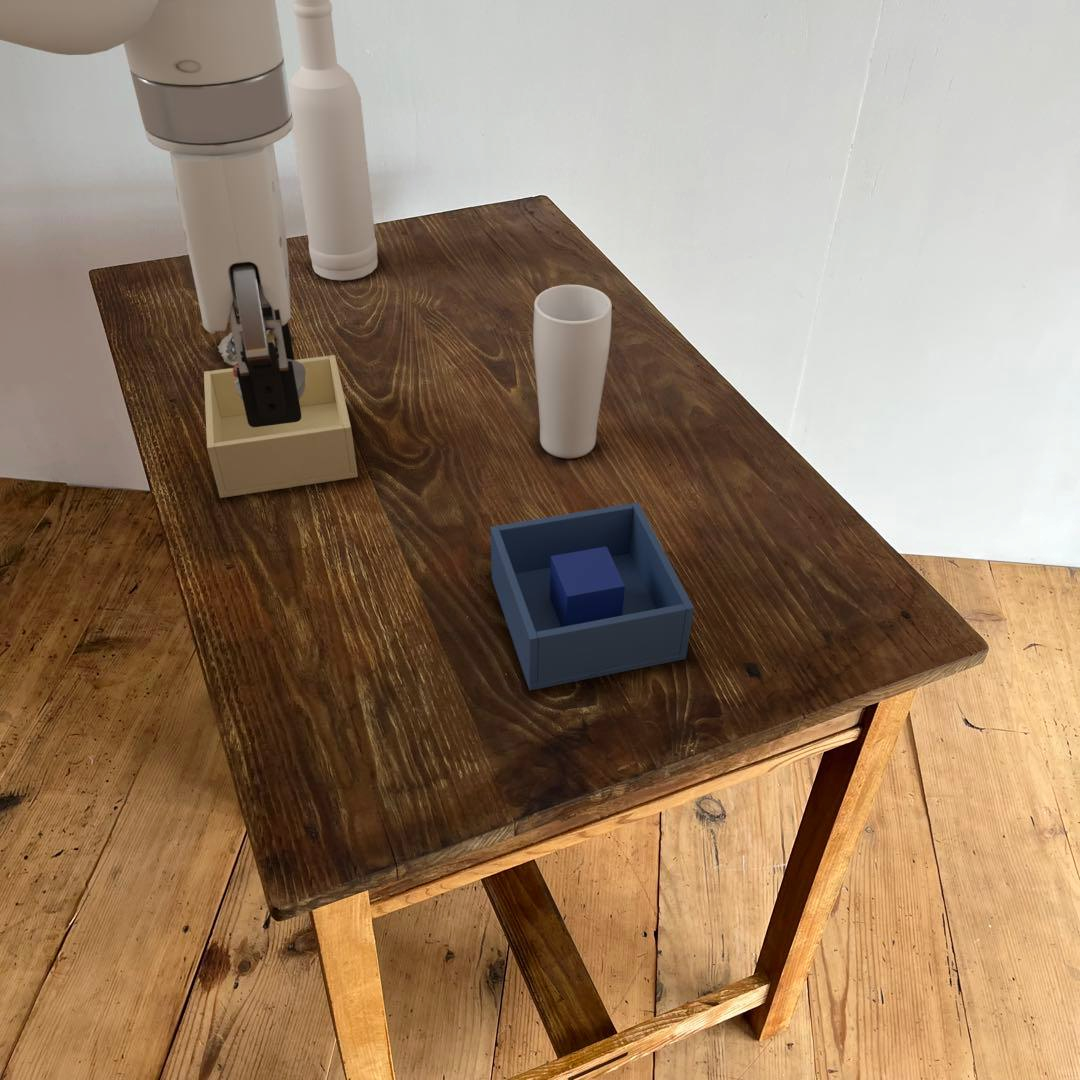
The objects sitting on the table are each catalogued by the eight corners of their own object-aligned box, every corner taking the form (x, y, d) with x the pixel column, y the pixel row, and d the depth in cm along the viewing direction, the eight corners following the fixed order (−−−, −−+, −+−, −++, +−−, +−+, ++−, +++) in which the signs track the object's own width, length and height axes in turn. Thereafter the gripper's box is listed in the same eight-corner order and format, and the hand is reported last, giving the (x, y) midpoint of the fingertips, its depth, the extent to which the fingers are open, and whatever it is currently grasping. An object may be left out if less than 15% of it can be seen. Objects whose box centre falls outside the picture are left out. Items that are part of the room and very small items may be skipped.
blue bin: (529, 691, 74) (529, 639, 70) (491, 578, 83) (490, 526, 79) (685, 659, 76) (694, 607, 73) (633, 552, 85) (638, 501, 81)
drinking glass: (582, 416, 100) (589, 277, 90) (616, 454, 95) (627, 312, 85) (520, 434, 97) (520, 293, 87) (551, 474, 93) (555, 330, 83)
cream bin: (220, 498, 90) (206, 447, 86) (215, 420, 98) (203, 371, 95) (358, 477, 92) (351, 427, 88) (341, 403, 101) (335, 354, 97)
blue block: (565, 638, 77) (567, 596, 74) (549, 597, 80) (550, 555, 77) (621, 627, 78) (625, 585, 75) (603, 587, 81) (606, 545, 78)
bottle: (327, 288, 118) (287, 6, 98) (302, 260, 123) (258, -13, 103) (389, 271, 121) (363, -5, 101) (362, 245, 126) (332, -23, 106)
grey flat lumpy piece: (296, 332, 111) (293, 317, 109) (263, 371, 105) (260, 355, 104) (239, 324, 112) (236, 308, 111) (204, 361, 106) (200, 346, 105)
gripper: (145, 53, 58) (211, 333, 70) (130, 171, 45) (213, 486, 58) (280, 45, 59) (321, 321, 71) (301, 157, 47) (346, 467, 59)
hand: (272, 392), depth 64 cm, fingers closed on figurine, 5 cm apart
